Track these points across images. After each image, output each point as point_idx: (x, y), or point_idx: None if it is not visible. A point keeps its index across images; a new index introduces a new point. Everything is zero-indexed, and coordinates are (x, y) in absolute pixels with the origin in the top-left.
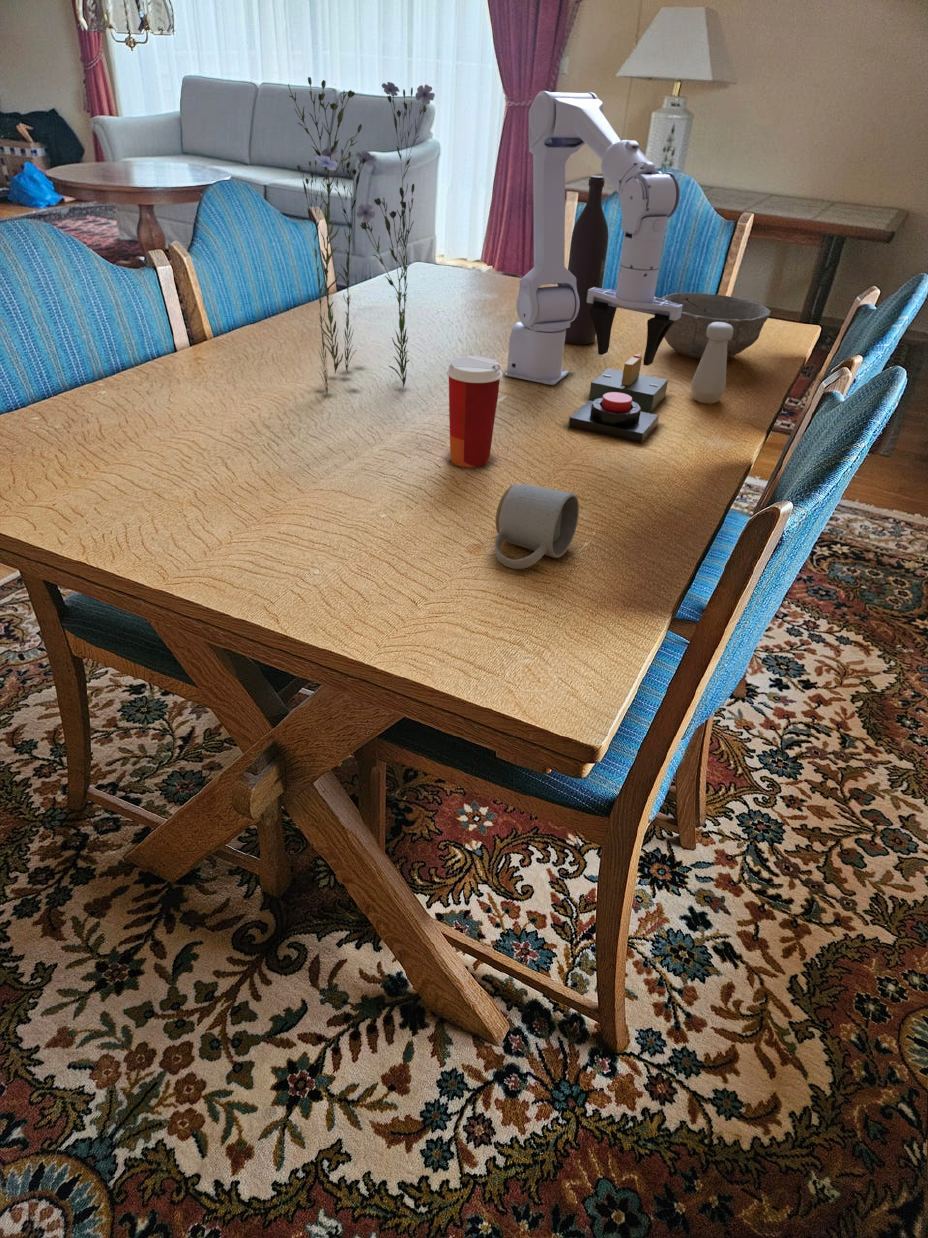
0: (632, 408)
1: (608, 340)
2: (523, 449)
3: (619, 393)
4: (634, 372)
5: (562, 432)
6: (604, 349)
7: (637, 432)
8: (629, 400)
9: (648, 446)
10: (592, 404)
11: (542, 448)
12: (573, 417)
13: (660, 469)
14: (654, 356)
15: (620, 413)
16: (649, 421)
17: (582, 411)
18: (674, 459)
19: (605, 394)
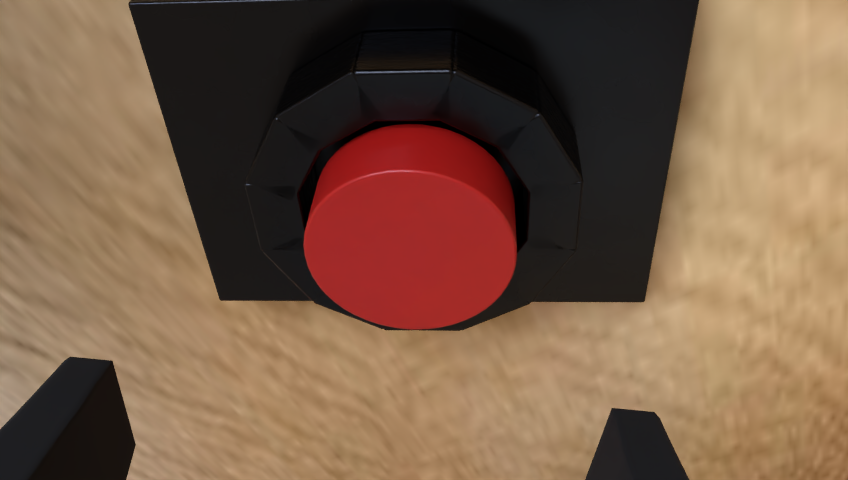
0: (529, 215)
1: (55, 478)
2: (228, 477)
3: (390, 191)
4: None
5: (246, 314)
6: (112, 460)
7: (611, 300)
8: (505, 270)
9: (677, 267)
10: (277, 265)
11: (276, 450)
12: (237, 295)
13: (759, 421)
14: (680, 469)
15: (486, 311)
16: (649, 137)
17: (222, 202)
18: (820, 330)
19: (316, 256)
